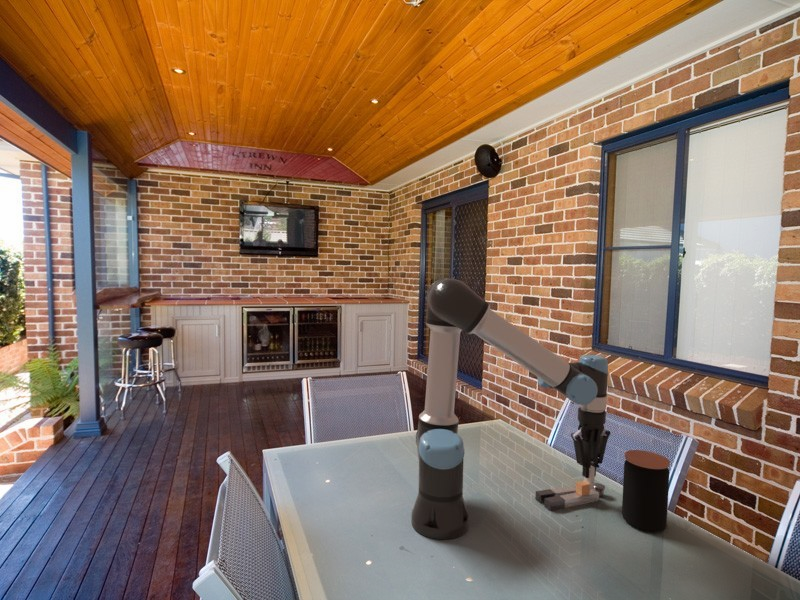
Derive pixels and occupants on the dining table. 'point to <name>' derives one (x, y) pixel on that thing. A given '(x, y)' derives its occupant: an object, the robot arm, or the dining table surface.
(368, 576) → the dining table surface
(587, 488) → the tab
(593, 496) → the tongs lower
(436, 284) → the robot arm
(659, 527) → the coffee jar
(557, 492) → the tongs upper
